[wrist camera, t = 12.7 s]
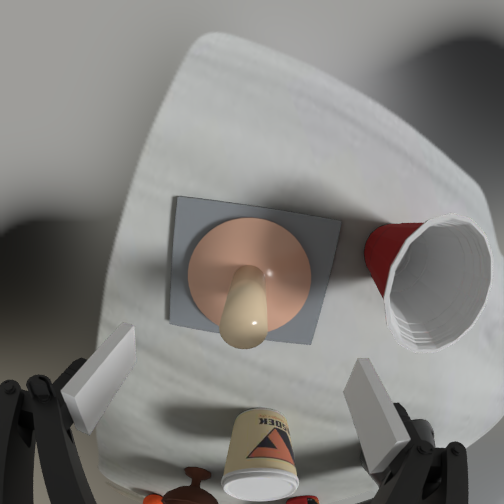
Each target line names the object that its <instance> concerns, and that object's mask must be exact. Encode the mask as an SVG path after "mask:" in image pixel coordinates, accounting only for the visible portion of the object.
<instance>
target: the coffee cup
mask: <svg viewBox="0 0 504 504" xmlns="http://www.w3.org/2000/svg"><path fill="white" fill-rule="evenodd" d="M221 485H222V487H223V490H224V491H225V492H226V493H227V494H228V495H230V496H232V497H235V498H238V499H242V500H248V501H272V500H278V499H282V498H285V497H287V496H290V495H291V494H293V493H294V492H295V491H296V489H297V487H298V485H299V479H298V477H297V473H296V467H295V461H294V455H293V449H292V444H291V439H290V433H289V428H288V424H287V420H286V418H285V417H284V415H283V414H281V413H280V412H278V411H275V410H272V409H267V408H255V409H250V410H247V411H244V412H242V413H241V414H239V415H238V416H237V418H236V419H235V422H234V426H233V431H232V436H231V440H230V445H229V450H228V455H227V459H226V464H225V469H224V475H223V477H222V480H221Z"/></svg>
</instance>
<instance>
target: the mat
mask: <svg viewBox="0 0 504 504" xmlns="http://www.w3.org/2000/svg"><path fill="white" fill-rule="evenodd" d="M241 217H256V218H262V219H267V220H270V221H272V222H275V223H277V224H279V225H281V226H282V227H284V228H285V229H287V230H288V231H289V232H290V233H291V234H292V235H293V236H295V238H296V239H297V240H298V241H299V243H300V244H301V246H302V248H303V249H304V251H305V253H306V255H307V258H308V260H309V264H310V269H311V285H310V290H309V294H308V297H307V299H306V301H305V303H304V305H303V306H302V308H301V310H300V311H299V312H298V313H297V314H296V316H294V317H293V318H292V319H291V320H290V321H289V322H287V323H286V324H284V325H283V326H281V327H279V328H277V329H274V330H272V331H269V332H267V336H266V338H265V339H264V340H269V341H277V342H286V343H296V344H306V345H311V342H312V339H313V336H314V332H315V329H316V326H317V322H318V319H319V315H320V311H321V308H322V304H323V300H324V297H325V293H326V289H327V285H328V281H329V277H330V273H331V269H332V264H333V260H334V256H335V251H336V247H337V242H338V238H339V233H340V228H341V223H342V222H341V221H338V220H333V219H328V218H323V217H317V216H312V215H306V214H300V213H294V212H289V211H283V210H276V209H270V208H264V207H258V206H251V205H244V204H237V203H230V202H223V201H216V200H208V199H200V198H192V197H184V196H178V199H177V208H176V218H175V228H174V240H173V254H172V270H171V291H170V324H172V325H177V326H182V327H187V328H192V329H198V330H203V331H209V332H215V333H220V331H219V326H218V325H216V324H215V323H213V322H212V321H211V320H209V319H208V318H207V317H206V316H205V315H204V314H203V313H202V312H201V311H200V309H199V308H198V307H197V305H196V303H195V302H194V300H193V297H192V295H191V292H190V288H189V283H188V268H189V262H190V259H191V256H192V254H193V251H194V249H195V248H196V246H197V245H198V243H199V242H200V241H201V239H202V238H203V237H204V236H205V235H206V234H207V233H208V232H209V231H211V230H212V229H213V228H215V227H216V226H218V225H219V224H222V223H224V222H226V221H229V220H232V219H236V218H241Z"/></svg>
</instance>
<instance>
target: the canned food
mask: <svg viewBox="0 0 504 504" xmlns="http://www.w3.org/2000/svg"><path fill="white" fill-rule="evenodd" d="M286 504H319V500H318V498H317V497H315V496H299V497H294V498H291V499H289V500H288V501H287V502H286Z"/></svg>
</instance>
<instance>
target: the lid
mask: <svg viewBox="0 0 504 504" xmlns="http://www.w3.org/2000/svg"><path fill="white" fill-rule="evenodd" d="M188 283H189V288H190V292H191V295H192V297H193V300H194V302H195V303H196V305H197V307H198V308H199V309H200V311H201V312H202V313H203V314H204V315H205V316H206V317H207V318H208V319H209V320H211V321H212V322H213V323H215V324H216V325H218V326H219V331H220V334H221V337H222V338H223V340H224V341H225V342H226V343H228V344H229V345H231V346H233V347H235V348H239V349H250V348H254V347H256V346H258V345H259V344H261V343H262V342H263V341H264V339H265V338H266V336H267V332H269V331H272V330H274V329H277V328H279V327H281V326H283V325H284V324H286V323H287V322H289V321H290V320H291V319H292V318H293V317H294V316H296V314H297V313H298V312H299V311H300V310H301V308H302V306H303V305H304V303H305V301H306V299H307V297H308V294H309V290H310V285H311V269H310V264H309V260H308V258H307V255H306V253H305V251H304V249H303V248H302V246H301V244H300V243H299V241H298V240H297V239H296V238H295V236H293V235H292V234H291V233H290V232H289V231H288V230H287V229H285V228H284V227H282V226H281V225H279V224H277V223H275V222H272V221H270V220H267V219H262V218H256V217H241V218H236V219H232V220H229V221H226V222H224V223H222V224H219V225H218V226H216V227H215V228H213V229H212V230H211V231H209V232H208V233H207V234H206V235H205V236H204V237H203V238H202V239H201V241H200V242H199V243H198V245H197V246H196V248H195V249H194V251H193V254H192V256H191V259H190V262H189V268H188Z"/></svg>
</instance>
